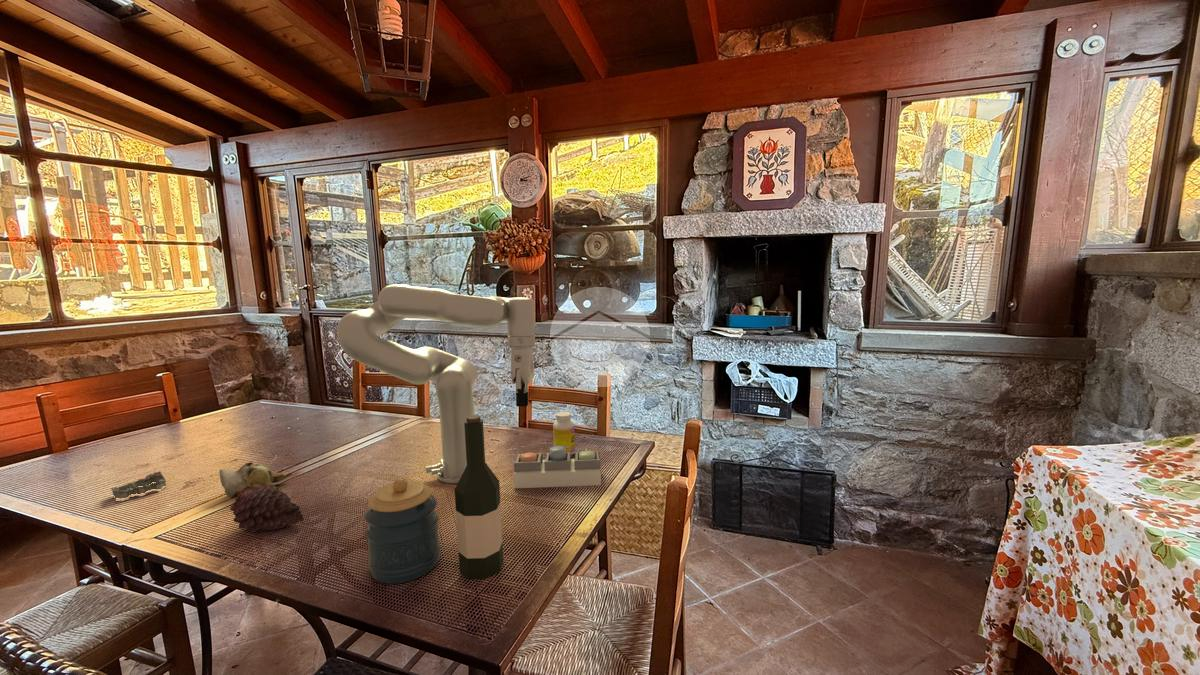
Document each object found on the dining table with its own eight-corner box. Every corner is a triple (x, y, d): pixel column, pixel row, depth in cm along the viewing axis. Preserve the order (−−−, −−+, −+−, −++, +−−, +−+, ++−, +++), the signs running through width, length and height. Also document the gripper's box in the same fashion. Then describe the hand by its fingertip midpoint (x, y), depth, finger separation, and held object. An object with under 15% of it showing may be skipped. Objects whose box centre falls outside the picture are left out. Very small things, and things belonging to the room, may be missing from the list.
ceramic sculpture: (229, 456, 128) (291, 453, 132) (231, 486, 129) (293, 482, 133) (208, 472, 118) (276, 468, 122) (210, 505, 119) (278, 500, 123)
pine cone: (320, 513, 113) (310, 490, 107) (289, 552, 106) (277, 530, 99) (254, 492, 115) (240, 468, 109) (219, 528, 107) (202, 505, 101)
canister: (401, 541, 101) (395, 462, 98) (454, 550, 97) (448, 468, 94) (353, 579, 88) (345, 490, 86) (411, 591, 84) (404, 498, 82)
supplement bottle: (574, 457, 145) (573, 417, 144) (552, 457, 145) (551, 417, 144) (575, 449, 152) (574, 410, 150) (555, 449, 152) (554, 411, 150)
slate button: (549, 462, 127) (549, 452, 126) (550, 456, 131) (550, 446, 131) (565, 462, 127) (565, 451, 126) (566, 456, 131) (566, 445, 131)
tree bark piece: (164, 483, 133) (162, 470, 132) (168, 491, 128) (166, 477, 128) (112, 496, 125) (110, 482, 125) (113, 504, 120) (111, 490, 120)
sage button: (579, 467, 127) (579, 457, 127) (579, 461, 131) (579, 451, 131) (595, 467, 127) (595, 456, 127) (595, 460, 132) (594, 450, 131)
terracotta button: (519, 469, 126) (519, 459, 126) (521, 463, 131) (521, 452, 130) (536, 469, 127) (535, 458, 126) (537, 462, 131) (537, 452, 131)
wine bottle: (457, 560, 94) (447, 414, 90) (499, 549, 97) (491, 408, 93) (462, 584, 86) (452, 426, 82) (507, 572, 89) (500, 419, 85)
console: (514, 488, 125) (513, 465, 124) (518, 474, 134) (517, 452, 133) (601, 485, 126) (600, 461, 125) (599, 471, 134) (599, 449, 134)
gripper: (530, 345, 124) (530, 413, 126) (539, 338, 138) (539, 399, 141) (501, 345, 124) (503, 413, 126) (513, 338, 139) (514, 398, 141)
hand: (522, 405), depth 133 cm, fingers closed
